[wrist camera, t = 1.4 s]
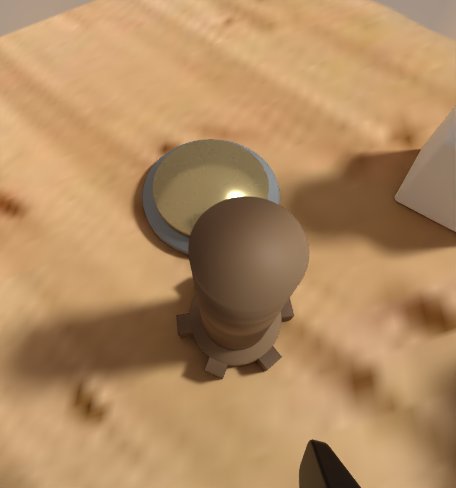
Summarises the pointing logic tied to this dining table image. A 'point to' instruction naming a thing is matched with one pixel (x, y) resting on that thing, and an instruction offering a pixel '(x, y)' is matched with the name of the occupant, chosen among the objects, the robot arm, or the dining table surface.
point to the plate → (159, 224)
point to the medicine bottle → (434, 177)
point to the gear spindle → (243, 281)
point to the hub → (205, 181)
